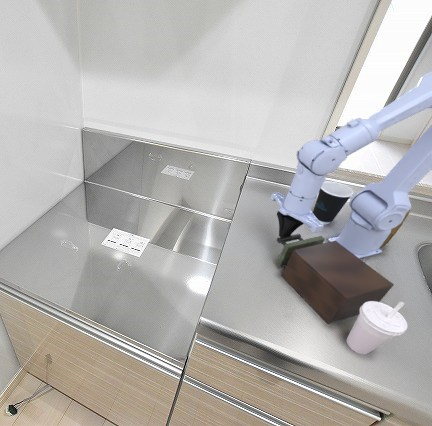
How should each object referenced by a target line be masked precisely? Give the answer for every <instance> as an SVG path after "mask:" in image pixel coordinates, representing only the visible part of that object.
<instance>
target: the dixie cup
mask: <svg viewBox="0 0 432 426" xmlns="http://www.w3.org/2000/svg"><path fill="white" fill-rule="evenodd" d="M354 193H355V191H354V190H353V189H352V188H351V187H349V185H346V184H344V183H341V182H337V181H324V182H323V184H322V186H321V189H320V191H319V193H318V195H317V197H316V199H315V202H314V207H313V210H312V213H313V214H314V215H315V217H316V218H317V219H318V220H319V222H320V223H322V224H323V225H330V224H331V222H333V221H334V219H335V218H336V217H337V215H338V214H339V213H340V212H341V210H342V208H343V207H344V206H345V205H346V203H348V200H350V199H351V198H352V197H353V196H354V195H355V194H354Z"/></svg>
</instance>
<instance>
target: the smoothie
mask: <svg viewBox="0 0 432 426" xmlns="http://www.w3.org/2000/svg"><path fill="white" fill-rule="evenodd" d="M404 305H405V302H403V301H399V302H398V303H397V305H395V307H394V308H393V307H391V305H388V304H386V303H383V302H381V301H380V302H376V301H368V302H365V303H364V304H363V305H362V306H361V307H360V314H359V315H357V318H356V319H355V322H354V323H353V326H352V328H351V329H350V332H349V334H348V335H347V338H346V339H345V341H346V344H347V346H348V347H349V348H350V349H351V350H352V351H353V352H355V353H356V354H360V355H363V356H364V355H368V354H369V353H371V352H373V351H374V350H376V349H378V348H379V347H381V346H382V345H384V344H385V343H387V342H388V341H390V340H391V339H393V338H394V337H398V336H401V335H404V333H405V332H406V330H407V329H408V322H407V320H406V319H405V317H404V316H403V315H402V314H401V313H400V312H399V311H400V310H401V308H402V307H403V306H404Z"/></svg>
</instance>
